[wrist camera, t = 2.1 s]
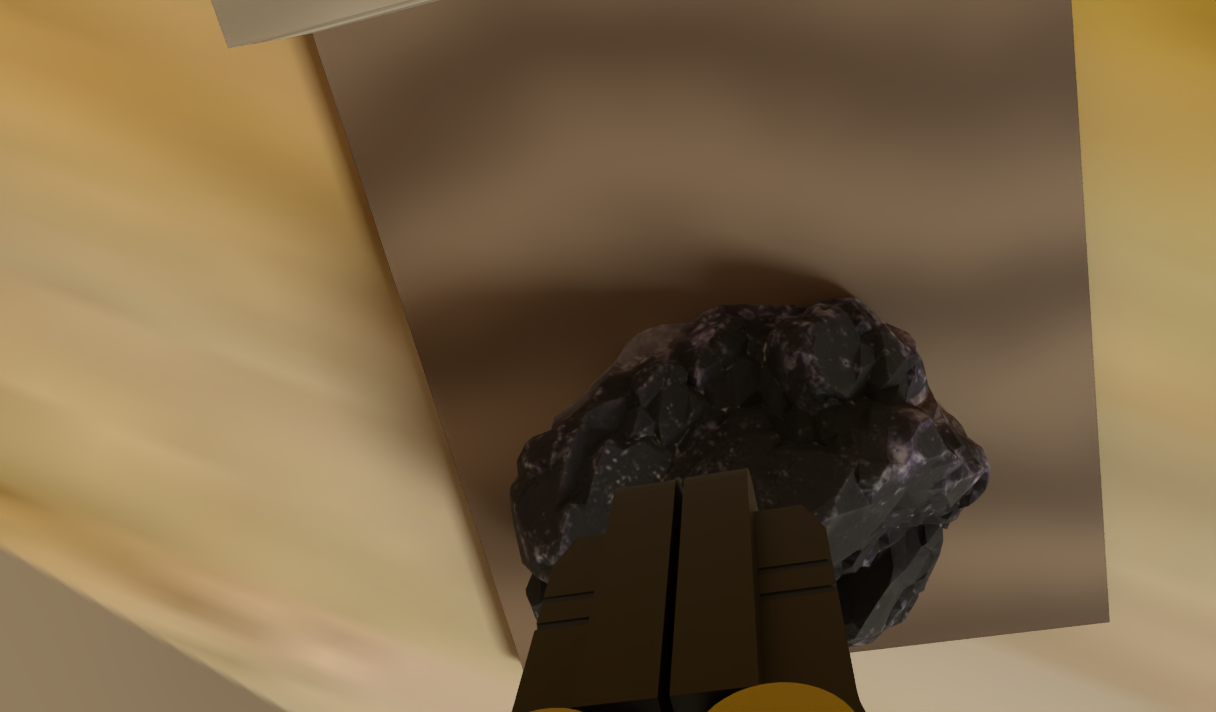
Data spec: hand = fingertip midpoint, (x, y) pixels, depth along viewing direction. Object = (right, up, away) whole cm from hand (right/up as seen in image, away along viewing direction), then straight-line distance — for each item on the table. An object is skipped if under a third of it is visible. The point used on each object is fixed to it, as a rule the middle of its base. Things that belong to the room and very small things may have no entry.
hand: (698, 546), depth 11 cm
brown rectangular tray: (+3, +4, +19) cm, 19 cm away
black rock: (+4, -1, +21) cm, 21 cm away
